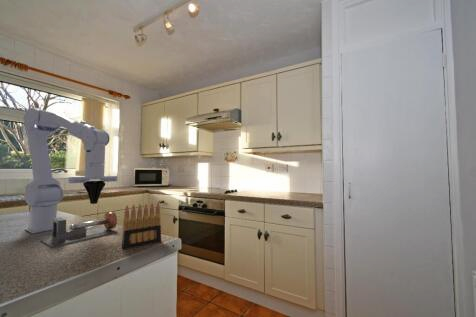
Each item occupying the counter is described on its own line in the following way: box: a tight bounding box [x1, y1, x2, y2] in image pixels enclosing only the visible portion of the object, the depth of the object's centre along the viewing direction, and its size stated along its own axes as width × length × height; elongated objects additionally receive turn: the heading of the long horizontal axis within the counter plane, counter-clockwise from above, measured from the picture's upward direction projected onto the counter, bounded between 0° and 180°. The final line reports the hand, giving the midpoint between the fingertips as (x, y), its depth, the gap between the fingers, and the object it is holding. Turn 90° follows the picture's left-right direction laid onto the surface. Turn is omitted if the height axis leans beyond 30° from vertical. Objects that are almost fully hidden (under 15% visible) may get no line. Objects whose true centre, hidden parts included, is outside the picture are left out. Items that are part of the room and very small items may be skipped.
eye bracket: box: [40, 217, 118, 249], centre depth 73 cm, size 10×18×7 cm, turn 145°
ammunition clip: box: [121, 202, 162, 250], centre depth 66 cm, size 11×2×12 cm, turn 129°
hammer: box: [69, 211, 118, 230], centre depth 76 cm, size 6×14×6 cm, turn 145°
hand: (93, 203), depth 76 cm, fingers closed
